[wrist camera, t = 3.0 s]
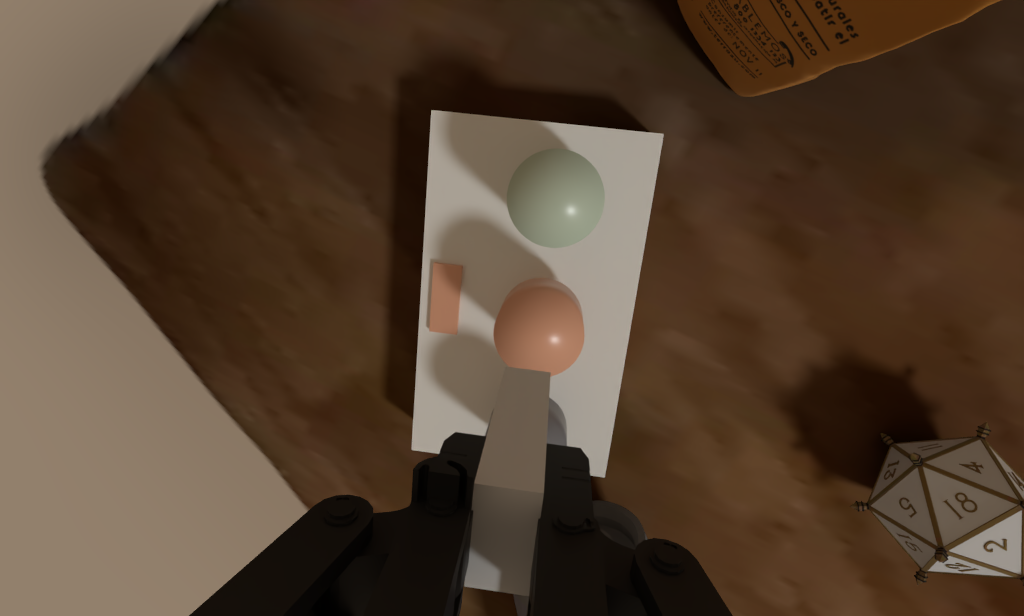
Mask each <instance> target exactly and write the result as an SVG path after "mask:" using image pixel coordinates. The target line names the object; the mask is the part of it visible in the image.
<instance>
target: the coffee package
mask: <svg viewBox="0 0 1024 616" xmlns="http://www.w3.org/2000/svg"><path fill="white" fill-rule="evenodd" d="M998 1H1000V0H677V2H678V4H679V7H680V10H681V12H682V15H683V17H684V19H685V21H686V23H687V25H688V27H689V29H690V30H691V32H692V34H693V35H694V37H695V39H696V40H697V42H698V43H699V45H700V46H701V48H702V49H703V51H704V52H705V54H706V55H707V56H708V58H709V59H710V60H711V62H712V63H713V65H714V66H715V68H716V69H717V71H718V72H719V74H720V75H721V77H722V78H723V79H724V80H725V82H726V83H727V84H728V85H729V86H730V88H731V89H732V90H733V91H734V92H735V93H736V94H737V95H740V96H742V97H752V96H757V95H762V94H765V93H769V92H773V91H776V90H780V89H784V88H787V87H791V86H794V85H797V84H800V83H804V82H807V81H810V80H813V79H815V78H816V77H818V76H819V75H821V74H822V73H825V72H827V71H829V70H831V69H833V68H835V67H837V66H841V65H845V64H850V63H855V62H860V61H863V60H867V59H870V58H872V57H874V56H877V55H879V54H882V53H885V52H887V51H890V50H893V49H896V48H898V47H901V46H903V45H905V44H907V43H910V42H912V41H914V40H916V39H919V38H921V37H923V36H925V35H927V34H930V33H932V32H934V31H937V30H940V29H942V28H945V27H948V26H951V25H953V24H956V23H959V22H962V21H964V20H965V19H967V18H968V17H970V16H972V15H973V14H975V13H976V12H978V11H980V10H981V9H983V8H985V7H987V6H989V5H991V4H993V3H996V2H998Z"/></svg>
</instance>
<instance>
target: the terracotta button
mask: <svg viewBox="0 0 1024 616" xmlns="http://www.w3.org/2000/svg"><path fill="white" fill-rule="evenodd" d="M493 336H494V343H495V347H496V349H497V352H498V354H499V355H500V357H501V358H502V360H503V361H504V362H505V363H506V364H507V365H508V366H509V367H513V368H521V369H529V370H536V371H544V372H551V375H550V377H551V376H554V375H557V374H559V373H562V372H563V371H565V370H566V369H568V368H569V367H570V366H571V365H572V364H573V363H574V362H575V361H576V360H577V358H578V357H579V355H580V353H581V351H582V348H583V344H584V336H585V335H584V324H583V315H582V309H581V305H580V303H579V301H578V299H577V297H576V296H575V294H574V293H573V292H572V291H571V290H570V289H569V288H568V287H567V286H566V285H564V284H562V283H561V282H558V281H556V280H553V279H549V278H533V279H529V280H526V281H524V282H522V283H520V284H518V285H517V286H515V287H514V288H513V289H512V290H511V291H510V292H509V293H508V295H507V296H506V298H505V300H504V302H503V304H502V306H501V309H500V311H499V313H498V316H497V318H496V321H495V324H494V333H493Z"/></svg>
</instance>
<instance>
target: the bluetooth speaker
mask: <svg viewBox="0 0 1024 616" xmlns="http://www.w3.org/2000/svg"><path fill="white" fill-rule="evenodd" d="M593 513H594V518H595V519H596V520H597V522H598V524H599V527H600V531H601V532H602V533H603V534H604V535H605V536H607V537H608V538H610V539H611V540H613V541H615V542H617V543H619V544H621V545H623V546H626V547H628V548H631V549H634V550H635V549H636V546H637V545H638V544H639V543H641V542H642V541H643V540H647V537H646V534H645V532H644V529H643V527H642V525H641V523H640V521H639V520H638V519H637V517H636V516H635V515H634V514H633V513H631V512H630V511H629V510H627V509H626V508H624V507H622V506H620V505H617V504H615V503H611V502H607V501H599V500H596V501H593ZM513 596H514V601H515V606H516V610H517V614H518V616H526V615H527V608H528V601H529V596H523V595H516V594H513Z"/></svg>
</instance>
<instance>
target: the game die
mask: <svg viewBox="0 0 1024 616" xmlns="http://www.w3.org/2000/svg"><path fill="white" fill-rule="evenodd" d="M978 427H979V428H978V430H976V431H977V436H975V437H963V438H951V439H939V440H926V441H914V442H902V443H894V442H893V439H892V438H890V435H886V434H883V433H880V434H881V438H882V440H881V441H883V442H884V444H887V445H889V447H890V448H889V450H888V453H887V455H886V458H885V460H884V462H883V465H882V467H881V470H880V472H879V475H878V477H877V480H876V482H875V485H874V487H873V490H872V492H871V495H870V497H869V500H868V502H867V503H863V502H862V501H861V502H857V501H856V503H854V504H852V505H851V506H850V507H852V508H854V509H856V510H858V511H859V510H862V511H864V510H866V509H869V510H870V511H871V512H872V514H873V515H874V516H875V517H876V518H877V519H878V521H879V522H880V523H881V524H882V525H883V526H884V527H885V529H886V530H887V531H888V532H889V533H890V534H891V536H892V537H893V538H894V539H895V540H896V541H897V542H898V544H899V545H900V546H901V547H902V548H903V549H904V550H905V552H906V553H907V554H908V555H909V556H910V557H911V559H912V560H913V561H914V562H915V563H916V564H917V565H918V567H919V568H920V570H919V571H918V572H917V571H916V573H917V574H916V575H914V576H915V577H916V581H917V585H919V584H921V583H923V582H926V578H928V577H927V573H928V572H929V573H943V574H957V575H972V576H986V577H1000V578H1014V579H1020V580H1022V582H1023V584H1024V480H1023V479H1022V478H1021V477H1020V476H1019V475H1018V474H1017V473H1016V472H1015V471H1014V470H1013V469H1012V467H1011V466H1010V465H1009V464H1008V463H1007V462H1006V461H1005V460H1004V459H1003V458H1002V457H1001V456H1000V455H999V454H998V453H997V452H996V451H995V450H994V449H993V448H992V446H991V445H990V444H989V443H988V442H987V441H986V440H985V437H986V436H987V435H988V436H989V434H988V433H989V431H990V429H989V427H988V424H987V422H986V423H984V424H983V425H981V426H978ZM990 432H991V431H990Z"/></svg>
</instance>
